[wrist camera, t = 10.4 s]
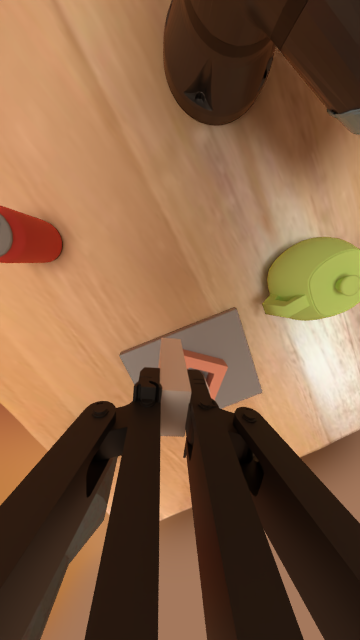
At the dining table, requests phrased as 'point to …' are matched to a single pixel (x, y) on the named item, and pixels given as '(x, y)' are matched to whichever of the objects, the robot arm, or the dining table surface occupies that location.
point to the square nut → (207, 369)
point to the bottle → (72, 554)
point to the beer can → (27, 238)
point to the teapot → (314, 280)
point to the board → (209, 339)
